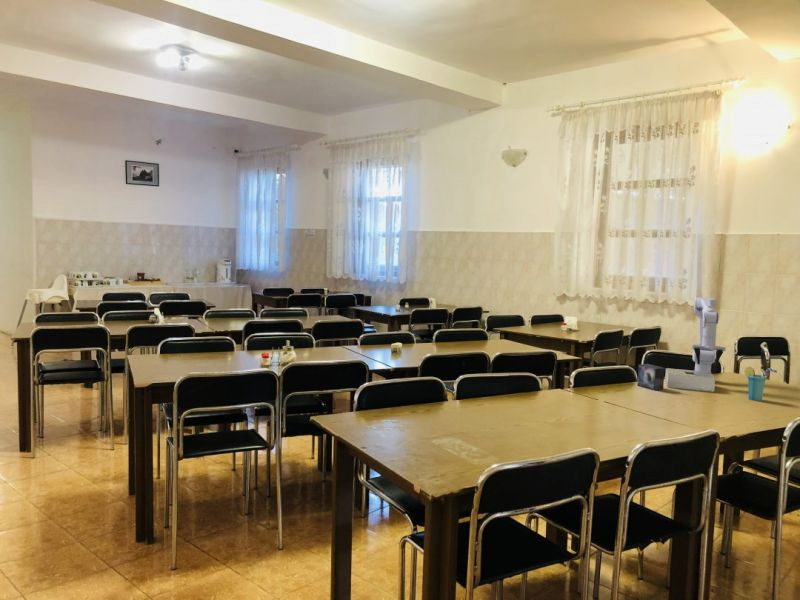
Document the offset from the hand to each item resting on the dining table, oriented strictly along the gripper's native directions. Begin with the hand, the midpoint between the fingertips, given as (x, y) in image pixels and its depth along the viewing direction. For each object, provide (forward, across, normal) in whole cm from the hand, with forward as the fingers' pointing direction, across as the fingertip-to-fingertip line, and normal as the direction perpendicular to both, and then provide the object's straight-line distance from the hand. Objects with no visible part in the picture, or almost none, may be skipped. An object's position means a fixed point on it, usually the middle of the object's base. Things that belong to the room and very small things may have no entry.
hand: (707, 364), depth 300 cm
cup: (+12, +18, -22) cm, 30 cm away
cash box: (+11, -8, -4) cm, 14 cm away
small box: (+12, -26, -18) cm, 33 cm away
